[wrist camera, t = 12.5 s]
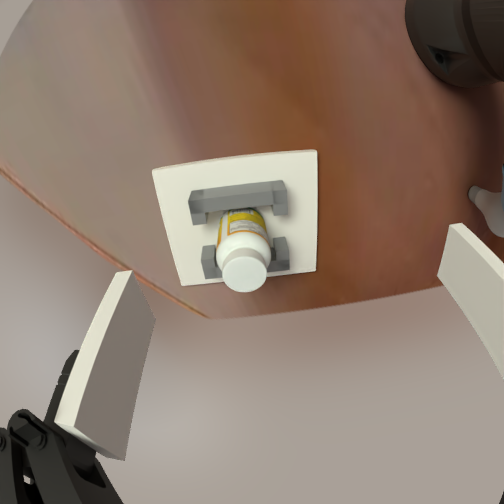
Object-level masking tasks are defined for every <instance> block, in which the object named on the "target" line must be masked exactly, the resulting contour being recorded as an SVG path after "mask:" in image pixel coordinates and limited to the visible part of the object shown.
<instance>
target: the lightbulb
mask: <svg viewBox="0 0 504 504" xmlns="http://www.w3.org/2000/svg"><path fill="white" fill-rule="evenodd" d="M468 196H469V199H470V200H471V201H472V202H473V203H474V204H476V206H477V208H478V209H480V210H481V212H482V213H483V215H484V217H485V220H486V222H487V225H488V227H489V228H490V230H491V231H492V232H493V233H494V234H495V235H497V236H499V237H504V212H503V209H502V204H501V192H498V193H492V192H489V191H487V190H485V189H481V188H480V187H477V186H472V187H471V188H470V190H469V193H468Z"/></svg>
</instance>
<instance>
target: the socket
mask: <svg viewBox="0 0 504 504" xmlns="http://www.w3.org/2000/svg"><path fill="white" fill-rule="evenodd" d="M152 175H153V179H154V184H155V188H156V192H157V196H158V201H159V205H160V209H161V213H162V217H163V221H164V224H165V228H166V232H167V236H168V239H169V243H170V247H171V250H172V254H173V257H174V261H175V264H176V268H177V271H178V274H179V278H180V281H181V284H182V286H187V285H197V284H207V283H216V282H224V280H223V277H222V271H221V269H220V268H219V266H218V264H217V260H216V249H217V240H218V229H219V222H220V218H221V216H222V215H223V213H224V212H225V211H226V210H230V209H238V208H247V207H254V208H255V209H257V210H258V211H259V212H260V213H261V214H262V216H263V218H264V221H265V226H266V230H267V235H268V240H269V245H270V250H271V261H270V264H269V266H268V268H267V277H270V276H279V275H287V274H295V273H303V272H311V271H316V251H317V196H318V187H317V151H316V150H297V151H283V152H271V153H260V154H250V155H241V156H232V157H224V158H217V159H209V160H202V161H196V162H189V163H183V164H177V165H171V166H166V167H160V168H155V169H153V170H152Z"/></svg>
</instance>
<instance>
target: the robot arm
mask: <svg viewBox="0 0 504 504" xmlns="http://www.w3.org/2000/svg"><path fill="white" fill-rule="evenodd" d="M405 19H406V25H407V29H408V33H409V36H410V39H411V41H412V43H413V46H414V48H415V49H416V51H417V53H418V55H419V56H420V58H421V59H422V61H423V62H424V63H425V65H426V66H427V67H428V68H429V69H430V70H431V71H432V72H433V73H434V74H435V75H436V76H437V77H438V78H440V79H441V80H443V81H444V82H446V83H448V84H451V85H454V86H459V87H465V88H476V87H480V86H484V85H488V84H491V83H495V82H499V81H502V82H504V0H407V1H406V6H405ZM502 174H503V182H502V192H501V204H502V209H503V212H504V164H503V166H502ZM437 276H438V278H439V279H440V280H441V282H442V283H443V284H444V286H445V287H446V288H447V290H448V291H449V293H450V294H451V295H452V297H453V298H454V300H455V301H456V302H457V304H458V305H459V307H460V308H461V310H462V311H463V313H464V314H465V316H466V317H467V319H468V320H469V322H470V323H471V325H472V326H473V328H474V329H475V331H476V333H477V334H478V336H479V337H480V339H481V340H482V342H483V344H484V345H485V347H486V349H487V351H488V353H489V354H490V356H491V358H492V359H493V361H494V363H495V365H496V366H497V368H498V370H499V372H500V374H501V376H502V378H503V380H504V263H503V262H502V261H501V260H500V259H499V258H498V257H497V256H496V255H495V254H494V253H493V252H492V251H491V250H490V249H489V248H488V247H487V246H486V245H485V244H484V243H483V242H482V241H481V240H480V239H479V238H478V237H477V236H476V235H474V234H473V233H472V232H471V231H470V230H469V229H468V228H467V227H466V226H465V225H464V224H462V223H458V224H451V225H449V230H448V235H447V239H446V244H445V248H444V252H443V256H442V260H441V264H440V268H439V271H438V275H437ZM155 321H156V318H155V316H154V315H153V312H152V310H151V309H150V306H149V304H148V302H147V300H146V298H145V296H144V294H143V292H142V290H141V288H140V286H139V284H138V281H137V279H136V277H135V275H134V273H133V270H131V271H124V272H117V273H116V274H115V276H114V278H113V280H112V282H111V284H110V286H109V288H108V290H107V292H106V294H105V296H104V299H103V300H102V302H101V304H100V306H99V308H98V311H97V313H96V315H95V317H94V319H93V322H92V324H91V326H90V328H89V330H88V332H87V335H86V337H85V339H84V342H83V344H82V346H81V349H80V350H75V351H74V352H73V353H72V354H71V355H70V357H69V358H68V359H67V360H66V362H65V365H64V367H63V370H62V375H61V376H60V377H59V380H58V385H56V388H55V391H54V393H53V396H52V399H51V402H50V405H49V407H48V410H47V414H46V416H45V419H44V421H43V422H42V421H41V420H40V419H39V418H37V417H36V416H35V415H33V414H32V413H31V412H30V411H29V410H26V409H21V410H18V411H16V412H15V413H14V414H13V415H12V417H11V418H10V420H9V423H8V427H7V430H6V429H5V428H0V504H123V502H122V501H121V499H120V497H119V496H118V494H117V492H116V491H115V489H114V487H113V486H112V484H111V482H110V481H109V479H108V477H107V475H106V473H105V472H104V470H103V468H102V466H101V464H100V462H99V461H98V460H97V458H95V455H96V451H97V452H98V453H100V454H101V455H103V456H105V457H108V458H113V459H118V460H123V461H125V456H126V449H127V444H128V438H129V433H130V428H131V422H132V417H133V412H134V407H135V402H136V398H137V393H138V389H139V384H140V380H141V376H142V371H143V367H144V363H145V359H146V355H147V351H148V347H149V343H150V339H151V336H152V332H153V328H154V324H155ZM23 475H25V476H27V477H29V478H30V484H28V483H26V482H24V477H23ZM499 504H504V492H503V495H502V498H501V500H500V503H499Z"/></svg>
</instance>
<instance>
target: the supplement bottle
mask: <svg viewBox="0 0 504 504" xmlns="http://www.w3.org/2000/svg"><path fill="white" fill-rule="evenodd" d="M216 260H217V264H218V266H219V268H220V269H221V271H222V277H223V280H224V282H225V284H226V285H227V286H228V287H229V288H231V289H233V290H235V291H238V292H250V291H253V290H256V289H258V288H259V287H261V286H262V285H263V283H264V282H265V280H266V277H267V268H268V266H269V264H270V261H271V250H270V245H269V240H268V235H267V230H266V226H265V221H264V218H263V216H262V214H261V213H260V212H259V211H258V210H257V209H255V208H254V207H247V208H238V209H230V210H226V211H225V212H224V213H223V215H222V216H221V218H220V222H219V229H218V240H217V249H216Z"/></svg>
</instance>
